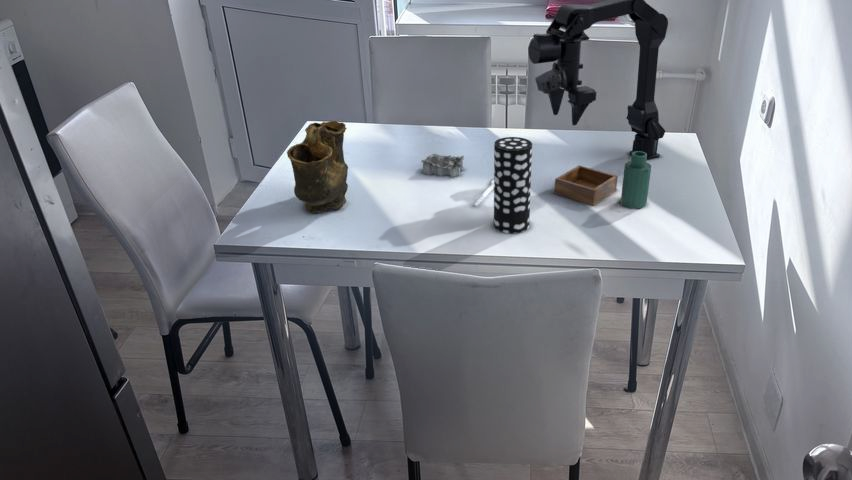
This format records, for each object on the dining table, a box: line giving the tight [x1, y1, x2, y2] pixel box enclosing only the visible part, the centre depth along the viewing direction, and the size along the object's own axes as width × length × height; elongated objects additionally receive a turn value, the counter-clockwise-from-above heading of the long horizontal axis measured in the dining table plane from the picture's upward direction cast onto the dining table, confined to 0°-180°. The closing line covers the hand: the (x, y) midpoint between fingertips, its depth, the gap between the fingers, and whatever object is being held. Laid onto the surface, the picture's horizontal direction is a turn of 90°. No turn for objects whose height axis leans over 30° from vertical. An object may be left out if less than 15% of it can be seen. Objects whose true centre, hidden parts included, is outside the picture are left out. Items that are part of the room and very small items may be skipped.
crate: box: [553, 164, 619, 206], centre depth 179 cm, size 12×12×4 cm
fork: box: [473, 178, 494, 207], centre depth 179 cm, size 3×20×2 cm, turn 160°
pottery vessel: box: [286, 120, 349, 214], centre depth 167 cm, size 25×11×20 cm, turn 178°
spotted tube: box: [493, 136, 533, 234], centre depth 158 cm, size 8×8×20 cm
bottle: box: [620, 151, 652, 209], centre depth 171 cm, size 6×6×13 cm
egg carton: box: [421, 153, 465, 178], centre depth 190 cm, size 11×8×4 cm
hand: (564, 119), depth 184 cm, fingers open, 9 cm apart
